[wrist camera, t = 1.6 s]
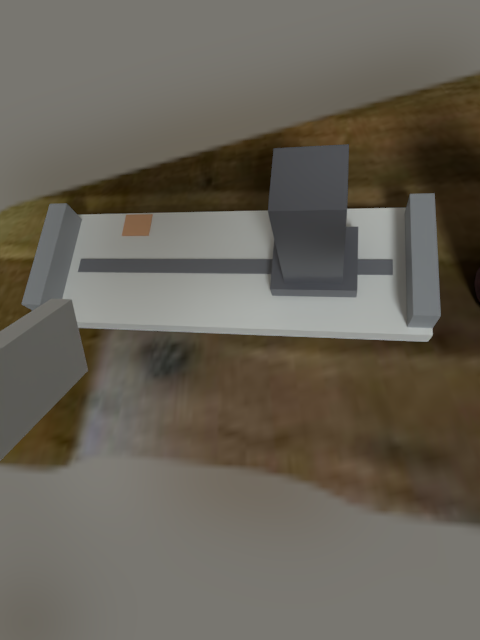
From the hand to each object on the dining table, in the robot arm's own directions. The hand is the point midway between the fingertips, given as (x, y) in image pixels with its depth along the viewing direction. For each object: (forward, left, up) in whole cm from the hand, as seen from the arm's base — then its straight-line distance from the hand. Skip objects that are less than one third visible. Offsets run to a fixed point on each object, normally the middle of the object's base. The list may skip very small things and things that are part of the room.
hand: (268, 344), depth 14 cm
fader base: (+7, -11, -18) cm, 22 cm away
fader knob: (0, -11, -17) cm, 20 cm away
